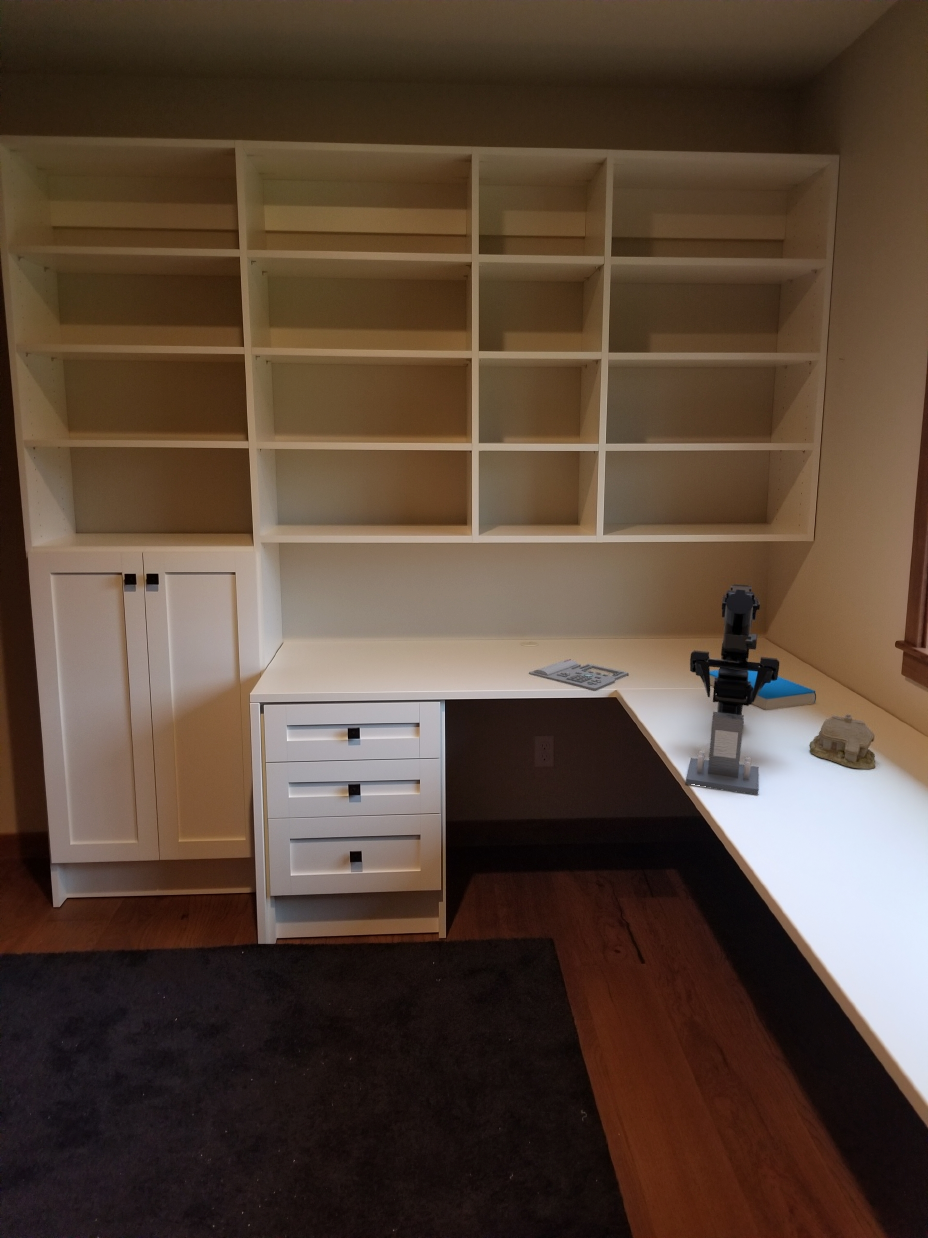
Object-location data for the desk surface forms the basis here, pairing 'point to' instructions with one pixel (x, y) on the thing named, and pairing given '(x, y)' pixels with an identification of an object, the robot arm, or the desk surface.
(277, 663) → the desk surface
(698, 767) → the grey pegged stand
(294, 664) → the desk surface
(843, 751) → the ceramic model
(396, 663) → the desk surface
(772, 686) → the book
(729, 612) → the robot arm
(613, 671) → the office telephone
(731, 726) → the block
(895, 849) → the desk surface
